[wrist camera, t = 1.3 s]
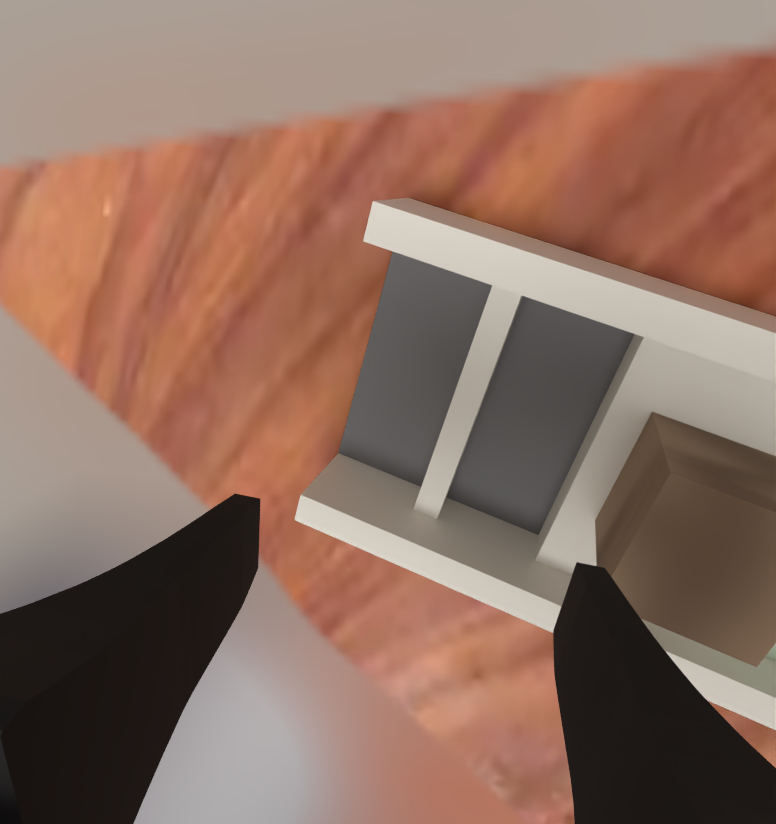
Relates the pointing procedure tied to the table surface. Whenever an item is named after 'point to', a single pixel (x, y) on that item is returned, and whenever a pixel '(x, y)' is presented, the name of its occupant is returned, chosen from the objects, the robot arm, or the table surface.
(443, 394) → the track
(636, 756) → the robot arm
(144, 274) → the table surface
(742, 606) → the walnut block
